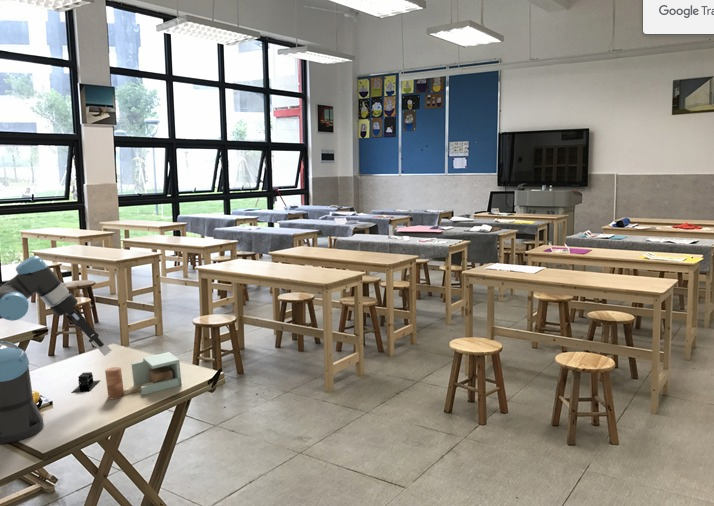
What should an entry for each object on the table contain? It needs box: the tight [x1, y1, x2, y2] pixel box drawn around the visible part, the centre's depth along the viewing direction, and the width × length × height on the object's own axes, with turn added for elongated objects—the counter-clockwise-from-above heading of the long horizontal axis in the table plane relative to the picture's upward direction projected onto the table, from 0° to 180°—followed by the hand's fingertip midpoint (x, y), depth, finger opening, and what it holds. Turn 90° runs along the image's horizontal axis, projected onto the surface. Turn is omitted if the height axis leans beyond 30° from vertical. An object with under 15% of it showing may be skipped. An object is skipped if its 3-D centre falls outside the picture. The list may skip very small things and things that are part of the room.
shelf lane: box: [130, 351, 182, 396], centre depth 203 cm, size 13×10×9 cm
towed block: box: [104, 366, 173, 400], centre depth 200 cm, size 20×6×9 cm, turn 125°
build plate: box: [70, 371, 101, 394], centre depth 205 cm, size 13×8×5 cm, turn 2°
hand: (102, 348), depth 197 cm, fingers open, 13 cm apart
